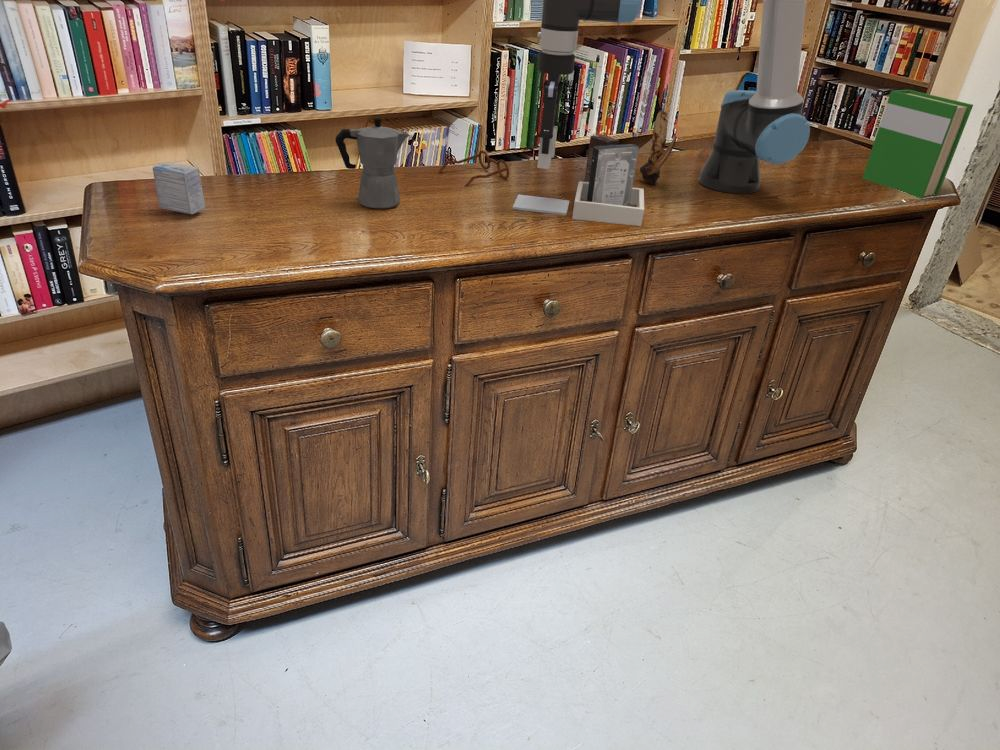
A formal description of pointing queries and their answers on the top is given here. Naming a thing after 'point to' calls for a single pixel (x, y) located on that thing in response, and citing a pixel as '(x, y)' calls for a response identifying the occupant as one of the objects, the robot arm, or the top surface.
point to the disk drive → (612, 174)
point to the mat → (541, 204)
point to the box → (597, 141)
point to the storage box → (609, 208)
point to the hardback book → (916, 142)
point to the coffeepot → (375, 162)
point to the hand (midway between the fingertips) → (545, 162)
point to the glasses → (482, 166)
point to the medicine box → (179, 187)
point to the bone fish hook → (657, 150)
